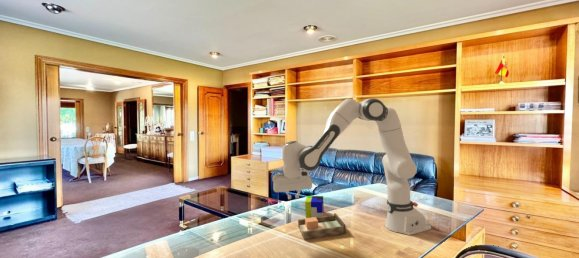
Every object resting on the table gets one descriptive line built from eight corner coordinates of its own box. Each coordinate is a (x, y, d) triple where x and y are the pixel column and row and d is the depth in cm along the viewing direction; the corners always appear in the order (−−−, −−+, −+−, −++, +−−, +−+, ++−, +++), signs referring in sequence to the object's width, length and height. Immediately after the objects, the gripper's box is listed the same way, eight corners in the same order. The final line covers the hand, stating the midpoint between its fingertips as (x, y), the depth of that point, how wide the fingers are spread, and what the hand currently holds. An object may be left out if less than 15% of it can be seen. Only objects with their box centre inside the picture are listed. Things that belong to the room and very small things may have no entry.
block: (316, 224, 140) (315, 216, 140) (318, 228, 135) (318, 220, 135) (305, 225, 139) (304, 218, 139) (307, 229, 134) (306, 222, 134)
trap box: (336, 221, 147) (335, 213, 147) (345, 234, 132) (345, 224, 132) (298, 226, 144) (297, 217, 144) (303, 239, 129) (303, 230, 129)
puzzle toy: (322, 218, 153) (321, 202, 152) (305, 217, 155) (305, 201, 154) (323, 211, 163) (323, 196, 162) (308, 211, 165) (307, 195, 164)
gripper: (272, 175, 129) (274, 202, 130) (312, 172, 132) (313, 198, 133) (271, 172, 135) (273, 198, 136) (309, 169, 138) (310, 194, 139)
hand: (293, 198), depth 135 cm, fingers open, 3 cm apart
